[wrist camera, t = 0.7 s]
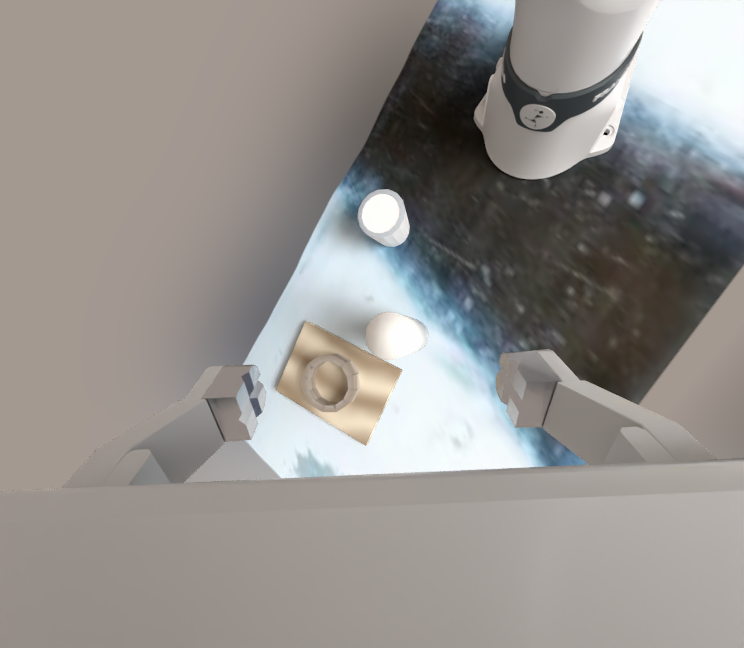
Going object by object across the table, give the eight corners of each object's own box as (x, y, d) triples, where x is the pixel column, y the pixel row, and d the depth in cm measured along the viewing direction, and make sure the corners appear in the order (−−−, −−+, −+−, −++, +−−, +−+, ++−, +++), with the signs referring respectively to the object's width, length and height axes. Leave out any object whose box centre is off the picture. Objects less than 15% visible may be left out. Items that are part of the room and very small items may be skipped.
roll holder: (309, 321, 53) (297, 320, 49) (402, 369, 48) (396, 373, 44) (280, 388, 54) (266, 392, 50) (368, 442, 49) (360, 451, 45)
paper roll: (403, 313, 48) (377, 304, 34) (434, 327, 47) (419, 324, 32) (389, 343, 49) (357, 346, 34) (419, 357, 47) (399, 368, 33)
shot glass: (394, 259, 49) (383, 247, 42) (363, 234, 51) (348, 219, 44) (422, 224, 48) (415, 206, 41) (389, 200, 49) (378, 179, 43)
